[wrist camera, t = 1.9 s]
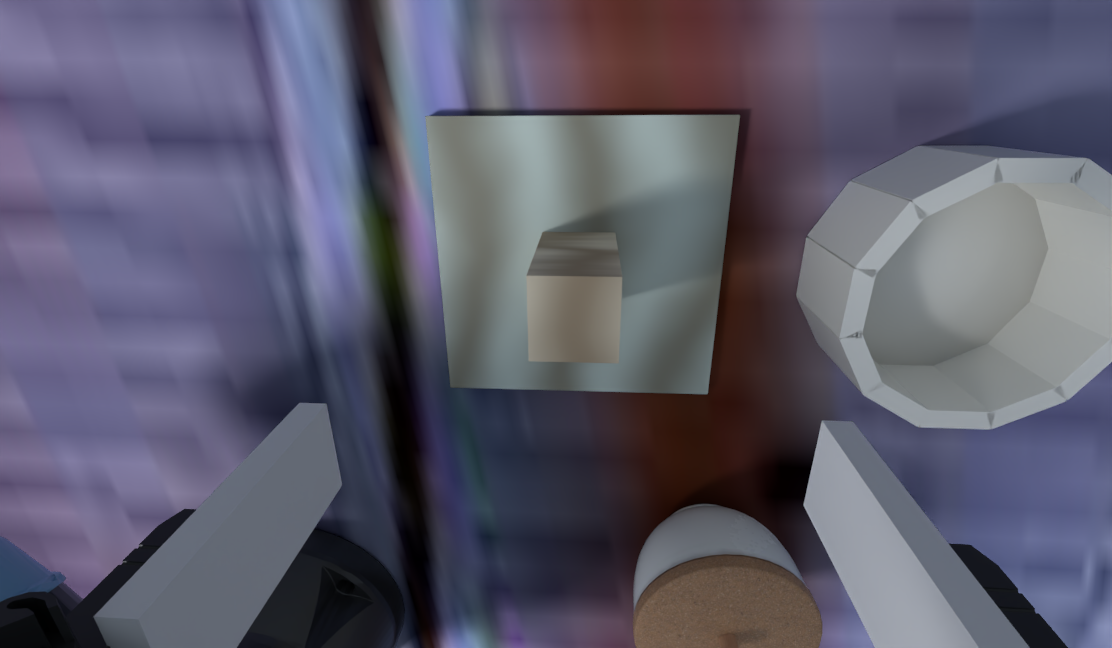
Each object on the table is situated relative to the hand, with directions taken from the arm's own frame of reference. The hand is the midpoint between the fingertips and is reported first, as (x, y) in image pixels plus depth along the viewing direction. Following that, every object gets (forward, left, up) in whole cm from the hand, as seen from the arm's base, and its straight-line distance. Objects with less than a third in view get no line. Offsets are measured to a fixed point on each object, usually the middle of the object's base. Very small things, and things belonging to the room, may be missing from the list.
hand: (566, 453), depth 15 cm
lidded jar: (+9, -20, -18) cm, 29 cm away
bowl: (+19, 0, -18) cm, 26 cm away
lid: (0, 0, -19) cm, 19 cm away
